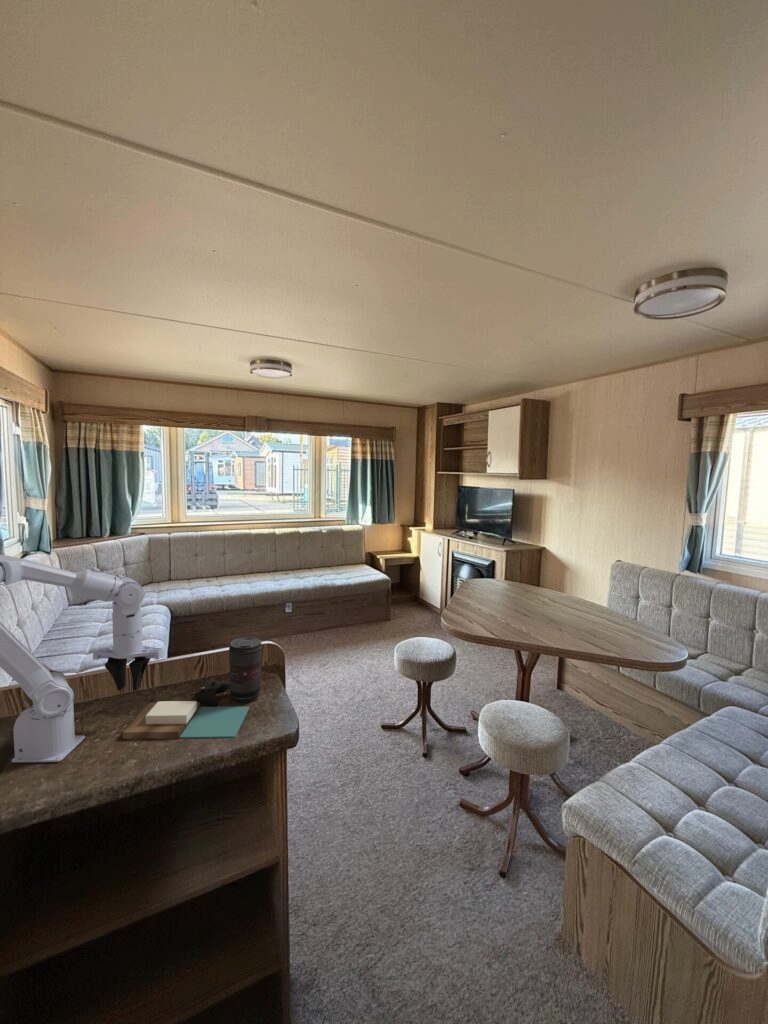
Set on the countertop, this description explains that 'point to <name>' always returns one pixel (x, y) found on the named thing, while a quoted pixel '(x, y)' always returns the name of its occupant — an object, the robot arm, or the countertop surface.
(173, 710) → the cream tile
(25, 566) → the robot arm
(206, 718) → the teal mat
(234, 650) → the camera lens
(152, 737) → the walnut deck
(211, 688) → the game controller
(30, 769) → the countertop surface
